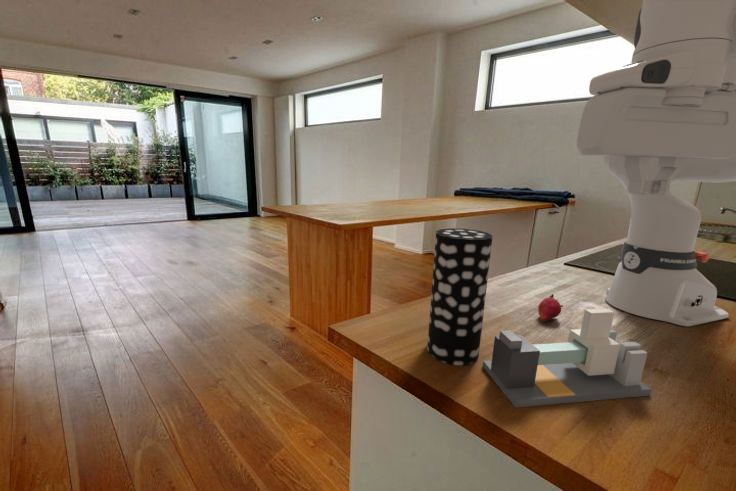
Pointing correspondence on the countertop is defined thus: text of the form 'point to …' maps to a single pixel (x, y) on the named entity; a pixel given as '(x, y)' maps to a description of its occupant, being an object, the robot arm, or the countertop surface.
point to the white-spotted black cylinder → (458, 294)
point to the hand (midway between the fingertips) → (647, 194)
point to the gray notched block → (628, 362)
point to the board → (567, 386)
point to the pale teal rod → (561, 353)
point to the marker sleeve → (596, 342)
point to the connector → (514, 360)
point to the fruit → (549, 308)
